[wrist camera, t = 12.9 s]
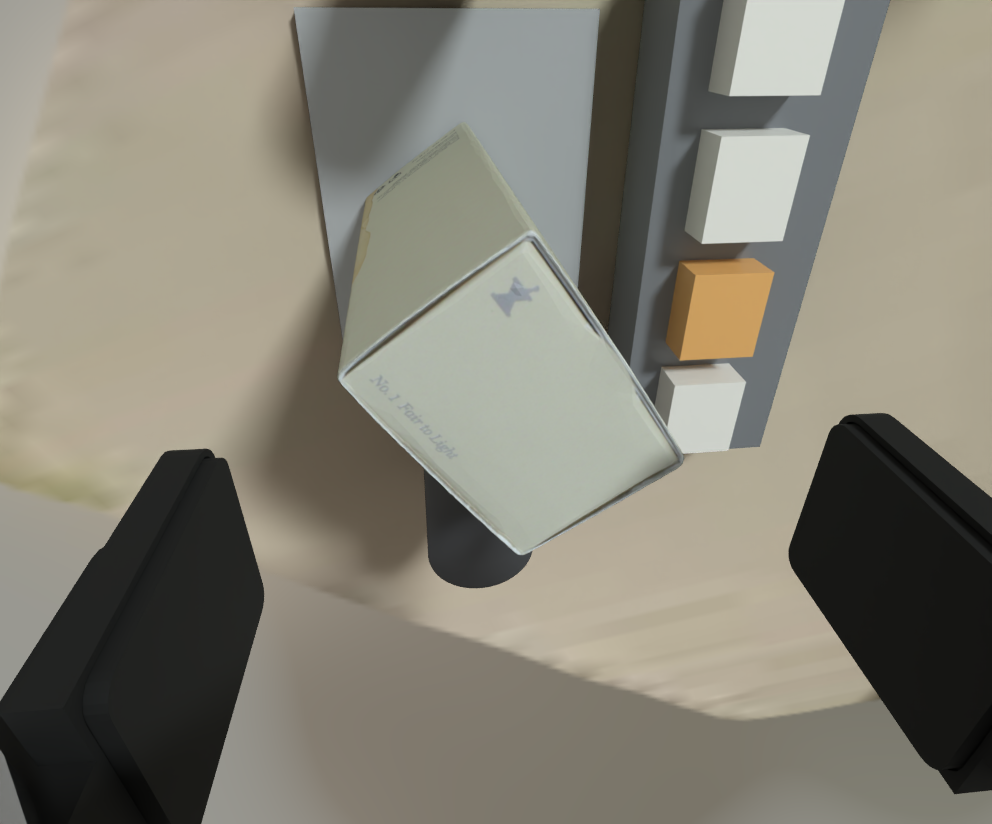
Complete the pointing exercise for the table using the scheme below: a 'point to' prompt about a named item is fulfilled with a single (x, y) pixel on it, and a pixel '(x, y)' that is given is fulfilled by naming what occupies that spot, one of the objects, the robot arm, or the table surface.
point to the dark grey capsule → (465, 543)
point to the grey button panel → (649, 171)
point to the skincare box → (491, 354)
